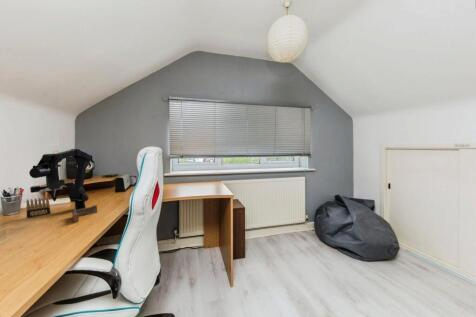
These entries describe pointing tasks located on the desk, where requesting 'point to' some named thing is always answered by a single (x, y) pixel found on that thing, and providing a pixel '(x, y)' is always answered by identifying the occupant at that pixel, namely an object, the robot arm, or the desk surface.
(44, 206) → the ammunition clip
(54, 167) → the robot arm
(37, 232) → the desk surface
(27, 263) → the desk surface
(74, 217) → the fence gate
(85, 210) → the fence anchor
